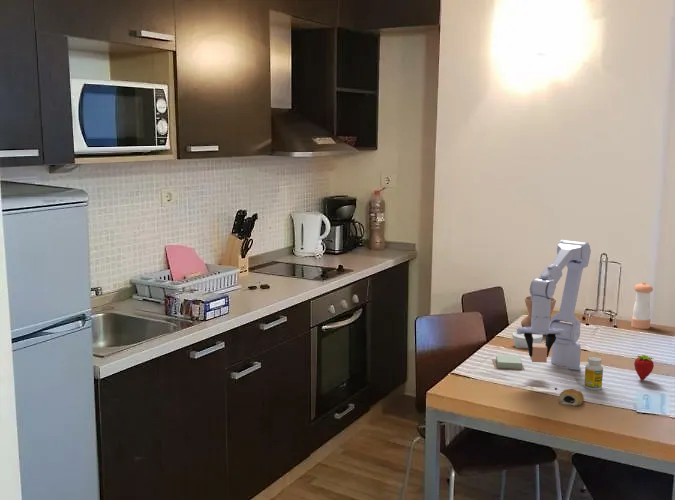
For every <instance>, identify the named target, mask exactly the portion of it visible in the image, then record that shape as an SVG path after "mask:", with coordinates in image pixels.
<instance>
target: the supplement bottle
mask: <svg viewBox="0 0 675 500" xmlns="http://www.w3.org/2000/svg"><path fill="white" fill-rule="evenodd" d="M587 359H588V360H587V363H586V365H584V387H585V388H586V389H588V390H590V391H599V390H601V389H602V387H603V378H604V377H603V373H604V366H603V365H602V358H600V357H597V356H589V357H588V358H587Z"/></svg>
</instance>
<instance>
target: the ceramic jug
mask: <svg viewBox="0 0 675 500" xmlns="http://www.w3.org/2000/svg"><path fill="white" fill-rule="evenodd" d="M524 302H525V307H526V309H527V312H528V313H529V314H528V315H527V316H525V317H524V318H522V320H521V323H520V326H521V327H531V317H532V301H531V294H530V295H527V296H525V297H524ZM556 304H557V298H556V297H552V298H551V306H550V320H551V317H552V316H551V315H552V314H553V311H554V310H555V309H554V308H555V306H556Z"/></svg>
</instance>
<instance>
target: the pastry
mask: <svg viewBox="0 0 675 500" xmlns="http://www.w3.org/2000/svg"><path fill="white" fill-rule="evenodd" d="M584 399H585V398H584V395H583V393H582V391H580V390H577V389H574V388H570V389H564V390H563V391H561V392H560V393H559V398H558V401H559V403H560V404H562V405H566V406H572V407H577V406H578V407H579V406H581V405H583V402H584Z"/></svg>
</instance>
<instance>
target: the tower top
mask: <svg viewBox="0 0 675 500" xmlns="http://www.w3.org/2000/svg"><path fill="white" fill-rule="evenodd" d="M495 356H496V357H495V359H496V362H497V366H498V368H512V369H522V365H523V362H522V358H521V357H520V355H508V354H507V355H505V354H496V355H495Z"/></svg>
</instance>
